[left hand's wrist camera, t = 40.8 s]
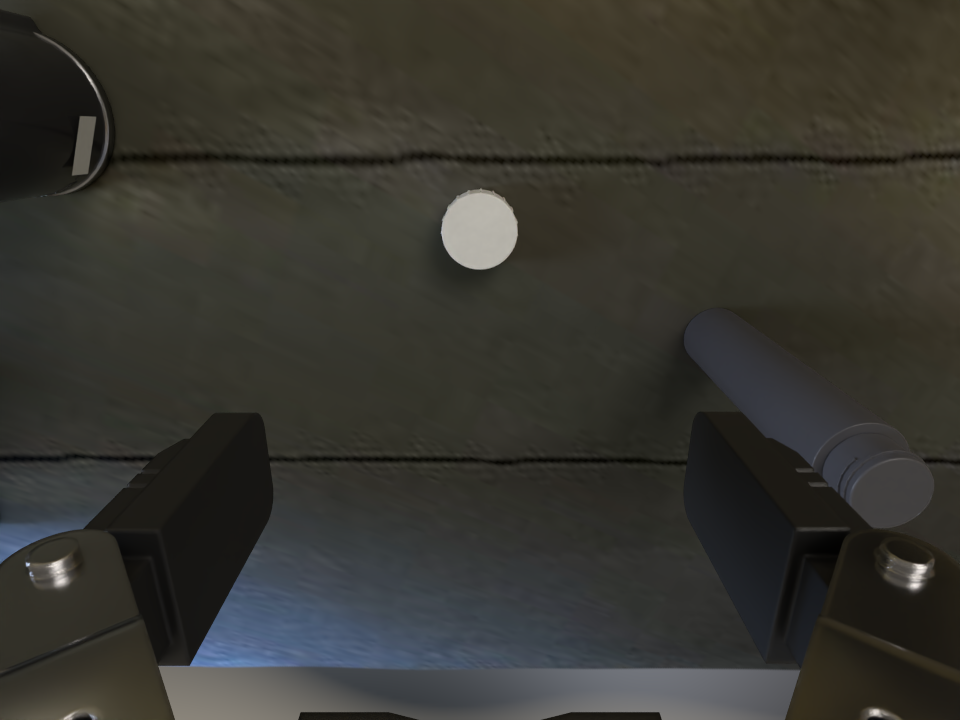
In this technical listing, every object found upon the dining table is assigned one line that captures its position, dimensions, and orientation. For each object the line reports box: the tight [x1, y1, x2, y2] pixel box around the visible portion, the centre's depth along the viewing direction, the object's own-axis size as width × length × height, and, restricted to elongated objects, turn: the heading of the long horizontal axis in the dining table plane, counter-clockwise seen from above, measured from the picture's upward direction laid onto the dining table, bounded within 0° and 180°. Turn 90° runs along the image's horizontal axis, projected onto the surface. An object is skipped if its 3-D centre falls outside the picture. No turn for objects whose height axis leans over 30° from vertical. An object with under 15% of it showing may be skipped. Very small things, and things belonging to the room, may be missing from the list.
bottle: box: [684, 308, 934, 529], centre depth 33 cm, size 4×4×20 cm
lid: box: [441, 188, 518, 270], centre depth 38 cm, size 5×5×2 cm
